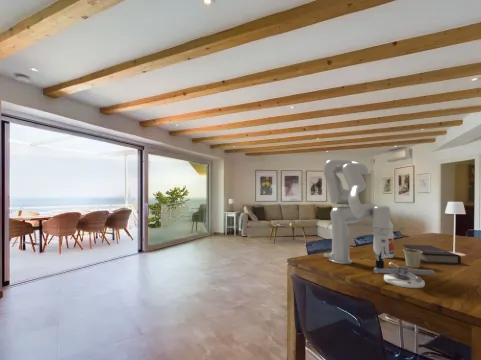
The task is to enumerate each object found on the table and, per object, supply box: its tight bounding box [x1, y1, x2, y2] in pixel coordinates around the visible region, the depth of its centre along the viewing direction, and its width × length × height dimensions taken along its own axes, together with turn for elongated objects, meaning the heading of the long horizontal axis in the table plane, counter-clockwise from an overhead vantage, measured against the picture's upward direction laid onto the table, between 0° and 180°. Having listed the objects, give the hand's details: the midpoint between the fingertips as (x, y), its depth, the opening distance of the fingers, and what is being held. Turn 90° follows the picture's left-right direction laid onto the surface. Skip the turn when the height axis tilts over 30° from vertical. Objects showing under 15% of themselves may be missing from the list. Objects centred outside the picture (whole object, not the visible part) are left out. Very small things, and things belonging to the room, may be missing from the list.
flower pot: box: [402, 248, 423, 269], centre depth 156 cm, size 9×9×9 cm
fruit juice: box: [384, 218, 395, 259], centre depth 180 cm, size 9×9×28 cm
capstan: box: [373, 261, 435, 283], centre depth 128 cm, size 26×26×5 cm
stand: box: [383, 273, 426, 289], centre depth 128 cm, size 16×16×2 cm
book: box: [402, 243, 462, 265], centre depth 178 cm, size 28×20×6 cm
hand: (379, 268), depth 138 cm, fingers closed
